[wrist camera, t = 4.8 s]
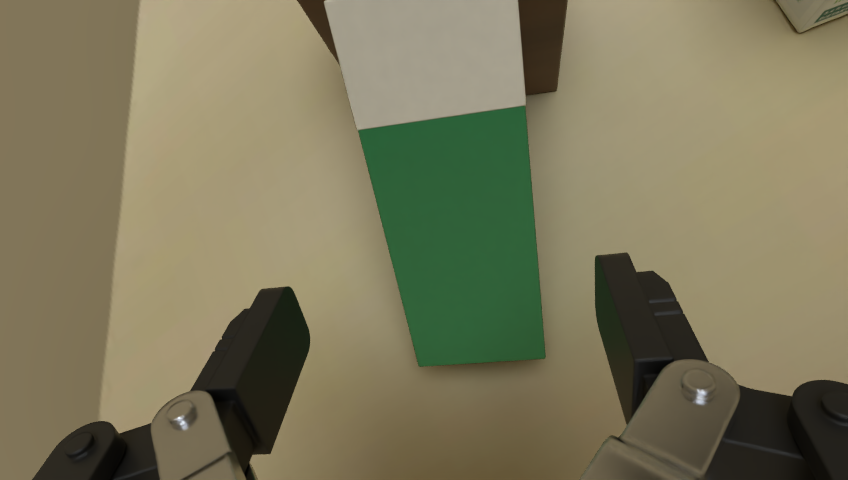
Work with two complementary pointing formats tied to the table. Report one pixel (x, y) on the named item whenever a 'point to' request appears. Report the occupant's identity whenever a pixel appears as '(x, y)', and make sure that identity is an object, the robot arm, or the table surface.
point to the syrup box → (812, 12)
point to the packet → (448, 168)
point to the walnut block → (539, 38)
